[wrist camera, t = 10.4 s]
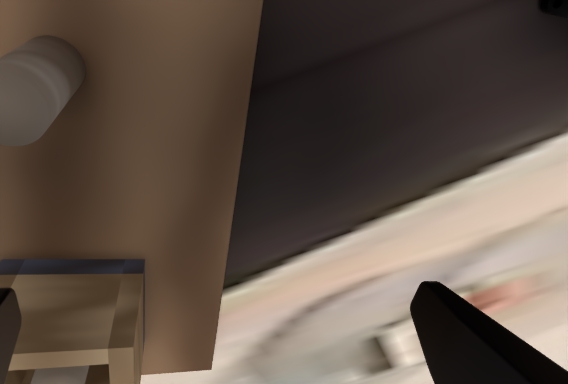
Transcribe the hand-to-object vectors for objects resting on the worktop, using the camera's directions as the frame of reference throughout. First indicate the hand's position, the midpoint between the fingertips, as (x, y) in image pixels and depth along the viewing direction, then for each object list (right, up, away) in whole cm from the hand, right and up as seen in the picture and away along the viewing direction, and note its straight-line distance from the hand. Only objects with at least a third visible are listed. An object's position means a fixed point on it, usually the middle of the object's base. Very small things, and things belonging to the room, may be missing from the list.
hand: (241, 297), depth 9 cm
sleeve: (-9, -3, +11) cm, 15 cm away
